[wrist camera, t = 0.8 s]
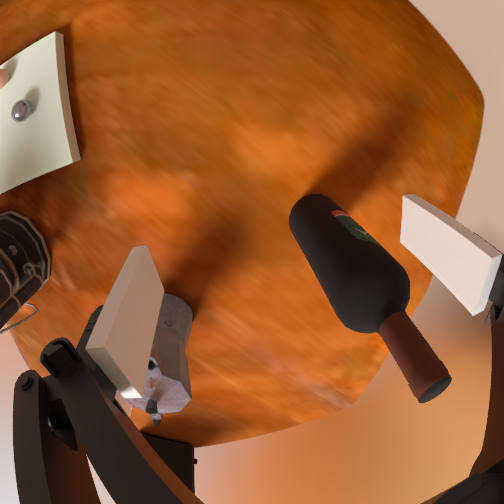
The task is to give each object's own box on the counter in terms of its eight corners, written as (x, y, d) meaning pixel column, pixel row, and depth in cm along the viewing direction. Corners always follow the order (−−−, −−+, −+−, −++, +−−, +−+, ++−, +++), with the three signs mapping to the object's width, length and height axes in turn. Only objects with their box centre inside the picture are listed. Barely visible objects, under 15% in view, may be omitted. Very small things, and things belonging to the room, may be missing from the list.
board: (-40, 106, 22) (-49, 107, 20) (63, 34, 23) (55, 31, 21) (-22, 204, 32) (-30, 209, 29) (80, 159, 32) (72, 162, 30)
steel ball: (18, 104, 25) (5, 105, 22) (34, 95, 25) (21, 95, 22) (21, 124, 26) (8, 127, 23) (37, 116, 26) (24, 117, 23)
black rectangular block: (168, 471, 84) (167, 523, 62) (121, 459, 78) (116, 512, 56) (202, 443, 71) (204, 515, 49) (139, 428, 65) (132, 504, 43)
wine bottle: (285, 199, 39) (400, 378, 12) (336, 190, 39) (492, 333, 12) (291, 247, 42) (377, 434, 16) (339, 237, 42) (456, 397, 16)
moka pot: (196, 278, 43) (187, 386, 25) (197, 348, 50) (194, 444, 32) (136, 275, 42) (98, 376, 24) (146, 344, 49) (129, 438, 31)
